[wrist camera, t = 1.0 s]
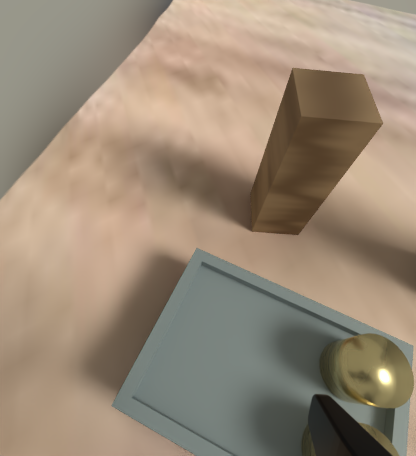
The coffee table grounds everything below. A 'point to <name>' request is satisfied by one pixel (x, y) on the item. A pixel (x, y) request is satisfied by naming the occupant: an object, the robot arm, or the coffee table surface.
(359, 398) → the bushing
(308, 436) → the bushing
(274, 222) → the post
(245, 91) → the coffee table surface
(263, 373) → the shallow rimmed tray
